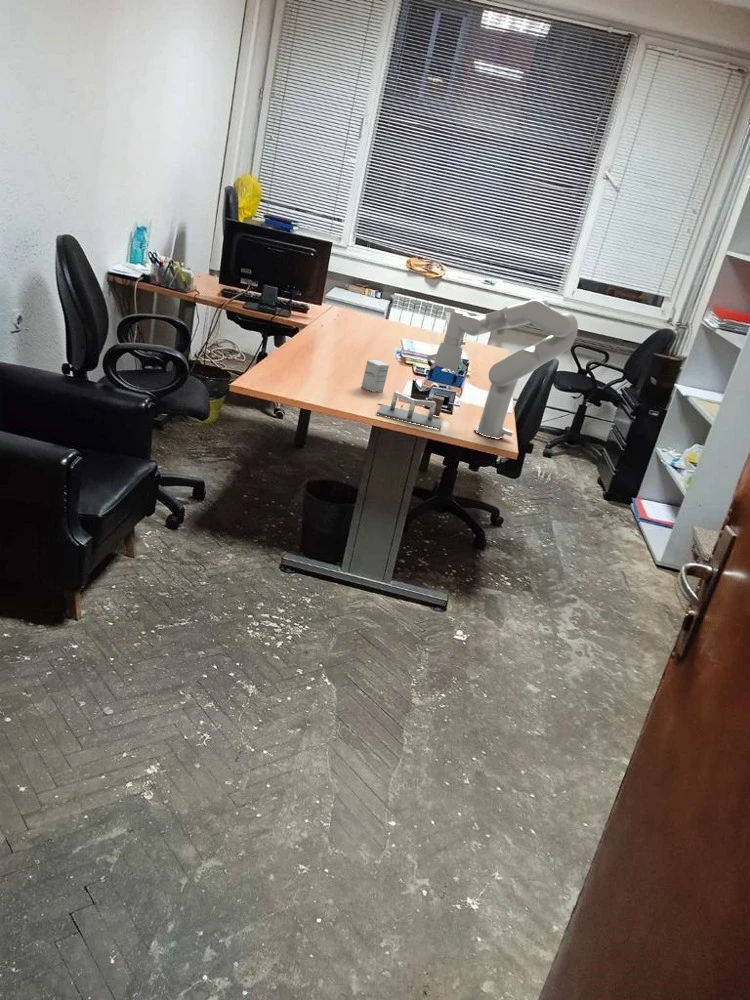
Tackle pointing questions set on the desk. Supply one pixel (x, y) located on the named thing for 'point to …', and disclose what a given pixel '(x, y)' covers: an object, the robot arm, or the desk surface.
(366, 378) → the supplement box
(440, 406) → the walnut block
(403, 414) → the base
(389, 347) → the desk surface
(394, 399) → the grey bridge stand
